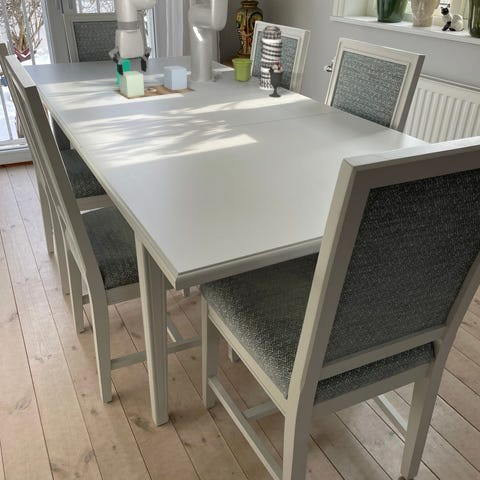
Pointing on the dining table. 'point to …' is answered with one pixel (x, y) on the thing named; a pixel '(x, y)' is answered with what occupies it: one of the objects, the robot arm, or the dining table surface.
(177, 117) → the dining table surface
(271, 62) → the decorative candle
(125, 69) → the candle
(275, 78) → the sundae
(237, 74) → the plant pot
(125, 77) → the pale green block
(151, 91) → the board
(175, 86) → the blue cover
